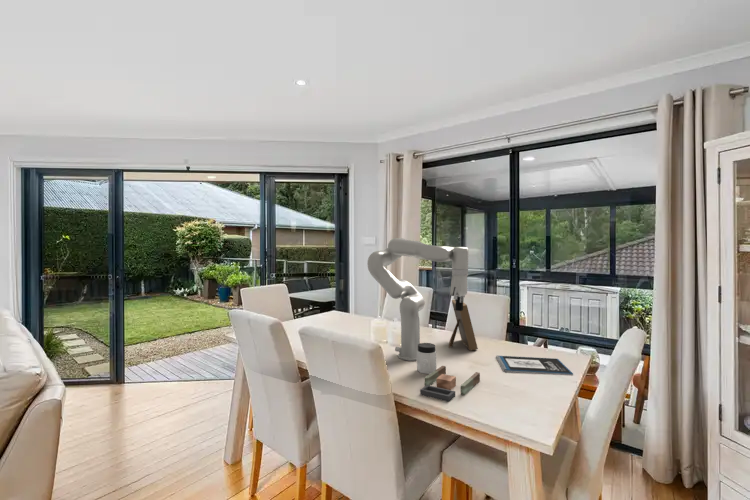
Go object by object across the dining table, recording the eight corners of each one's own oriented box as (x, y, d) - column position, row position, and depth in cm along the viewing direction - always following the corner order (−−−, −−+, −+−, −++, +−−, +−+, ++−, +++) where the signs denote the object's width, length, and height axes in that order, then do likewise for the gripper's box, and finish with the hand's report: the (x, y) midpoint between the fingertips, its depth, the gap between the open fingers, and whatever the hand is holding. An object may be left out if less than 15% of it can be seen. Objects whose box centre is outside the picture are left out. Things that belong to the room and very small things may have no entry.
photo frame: (468, 340, 231) (468, 298, 231) (477, 350, 210) (477, 304, 209) (443, 340, 232) (443, 298, 231) (450, 351, 210) (449, 305, 209)
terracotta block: (436, 388, 158) (436, 378, 158) (442, 383, 163) (442, 373, 163) (450, 391, 155) (450, 381, 155) (455, 386, 160) (455, 376, 160)
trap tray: (420, 394, 151) (420, 389, 151) (427, 389, 156) (427, 384, 156) (449, 401, 144) (449, 396, 144) (455, 396, 149) (455, 391, 149)
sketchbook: (573, 376, 172) (573, 372, 172) (503, 373, 176) (503, 368, 176) (557, 361, 193) (557, 356, 193) (495, 358, 198) (495, 354, 198)
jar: (415, 372, 176) (415, 346, 175) (418, 367, 183) (418, 342, 183) (434, 374, 173) (434, 348, 173) (437, 369, 181) (437, 343, 180)
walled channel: (424, 386, 160) (424, 377, 160) (442, 373, 175) (442, 365, 175) (464, 395, 150) (464, 386, 150) (479, 380, 165) (479, 372, 165)
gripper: (459, 271, 195) (458, 307, 196) (446, 273, 183) (445, 311, 184) (473, 272, 190) (472, 309, 191) (460, 274, 178) (460, 313, 179)
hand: (459, 310), depth 187 cm, fingers closed
